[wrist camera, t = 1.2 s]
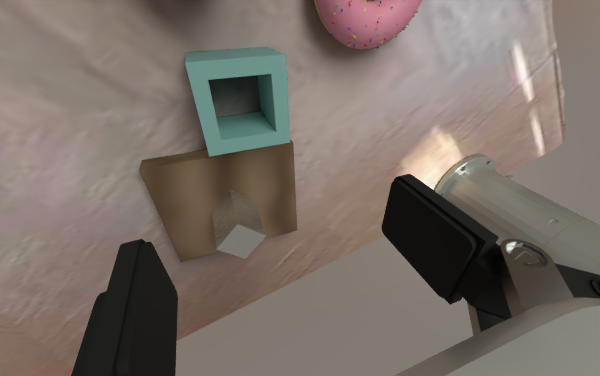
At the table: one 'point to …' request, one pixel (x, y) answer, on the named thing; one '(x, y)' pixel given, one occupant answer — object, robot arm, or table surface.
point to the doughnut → (365, 20)
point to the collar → (250, 126)
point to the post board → (209, 184)
